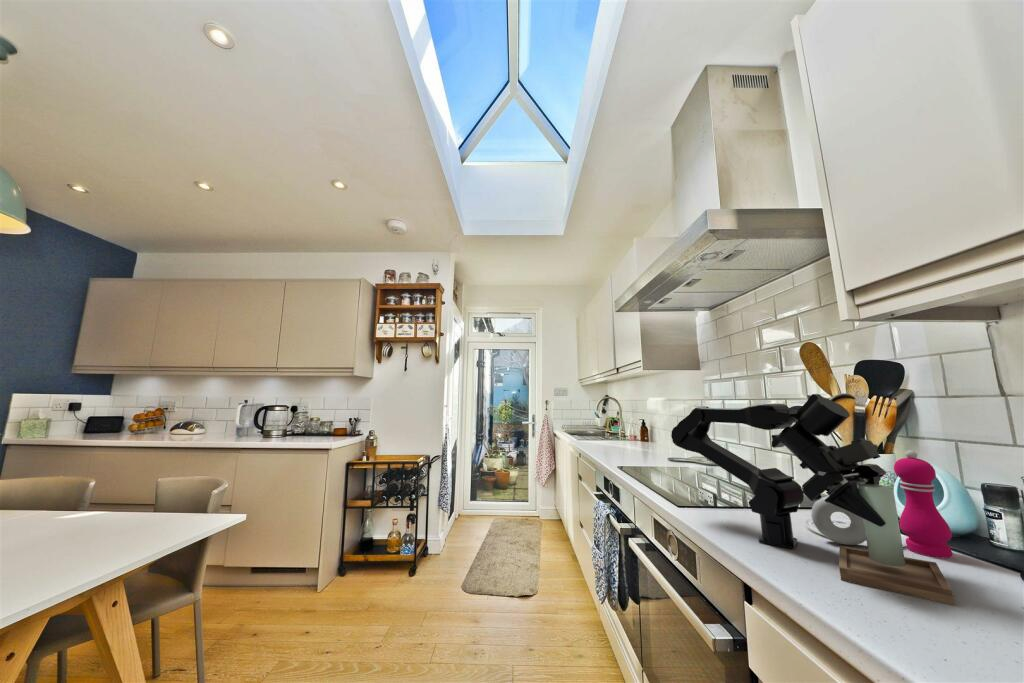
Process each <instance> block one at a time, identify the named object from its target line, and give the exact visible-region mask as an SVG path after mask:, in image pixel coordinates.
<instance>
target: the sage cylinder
mask: <svg viewBox="0 0 1024 683" xmlns="http://www.w3.org/2000/svg"><path fill="white" fill-rule="evenodd" d="M858 487H859V494H860V495H861V496H862V497H863V498H864V499H865V500H866V501H867V502H868V503H869V505H870V506H871V507H872V508H873V509H874V510H875V511H876V512H877V513H878V514H879V515H880V517H881V518H882V519H883V520H884V521H885V523H886V524H885V525H884V526H882V527H880V526H878V525H876V524H874V523H871V522H869V521H867V520H865V519H863V520H864V527H865V534H866V546H867V550H868V554H869V558H870V559H871V560H873V561H875V562H878V563H881V564H885V565H890V566H898V567H901V566H905V565H906V564H905V558H904V557H905V553H904V548H903V540H902V536H901V535H902V534H901V528H900V520H899V521H898V517H899V516H898V510H897V503H896V498H895V497H896V496H895V493H894V491H895V490H894V488H893V487H891V486H888V485H880V484H879V485H875V484H859V485H858Z"/></svg>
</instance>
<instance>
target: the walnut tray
mask: <svg viewBox="0 0 1024 683" xmlns="http://www.w3.org/2000/svg"><path fill="white" fill-rule="evenodd" d="M838 547H839V551H838V552H839V556H838V558H839V562H838V563H839V566H838V567H839V568H838V569H839V574H840V581H844V582H849V583H853V584H859V585H863V586H867V587H872V588H875V589H880V590H885V591H890V592H895V593H899V594H903V595H908V596H910V597H917V598H921V599H926V600H929V601H936V602H939V603H944V604H949V605H953V606H955V599H954V595H953V590H952V588H951V586H950V584H949V583H948V581H947V579H946V577H945V576H944V574H943V573H942V571H941V569H940V567H939V565H938V564H937V562H934V561H930V560H923V559H917V558H912V557H907V556H904V558H905V564H906V565H905V566H901V567H898V566H890V565H885V564H881V563H878V562H875V561H873V560H871V559H870V558H869V554H868V549H861V548H857V547H856V548H855V547H849V546H846V545H839V546H838Z"/></svg>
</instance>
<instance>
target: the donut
mask: <svg viewBox="0 0 1024 683" xmlns="http://www.w3.org/2000/svg"><path fill="white" fill-rule="evenodd" d="M827 497H829V495H826V496H823V497H822V498H821V499H820V500H815V501H814V504H813V506H812V507H811V512H810V513H811V515H810V516H811V518H812V522H813V525H814V527H815V528H816V529H817V530H818V532H819V533H821V534H822V535H823V536H824V537H825V538H826V539H828V540H830V541H831V542H833V543H837V544H841V545H842V546H856V545H860V544H863V543H864V542H865V541H866V534H865V527H864V520H863V518H861V517H859V516H857V515H855V514H853V513H851V512H849V511H847V510H845V509H842V508H840V507H838V506H836V505H833V504H831V503H827V502H825V501H824V500H825V499H826V498H827ZM834 513H843V514H844V515H846V516H847V517H848V519H849V520H850V524H849V525H848V526H847V527H840V526H837V525H835V524H834V523H833V521H832V518H831V516H832V514H834ZM866 542H867V541H866Z"/></svg>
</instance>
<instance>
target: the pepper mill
mask: <svg viewBox="0 0 1024 683" xmlns="http://www.w3.org/2000/svg"><path fill="white" fill-rule="evenodd" d="M904 455H905V457H902V458H900V459H898V460H896V461H895V462H894V465H893V470H894V473H895V474H896V476H897V477H899V479H900V480H899V484H900V485H899V486H900V488H901V489H903V493H904V495H905V503H904V504H905V505H904V508H903V510H902V512H901V514H900V517H899V518H900V520H899V527H900V531H902V533H903V534H905V535H906V536H907V538H905V545H906V544H907V546H906V548H907V550H908V551H910V552H913V553H914V554H915V553H916V554H918V555H923V556H926V557H932V558H937V559H950V558H952V557H953V553H952V547H951V546H950V545H948V544H947V542H949V541H950V540H951V539H952V537H953V534H952V531H951V528H950V526H949V524H948V522H947V521H946V519H945V518H944V517H943V516H942V514H941V513H940V511H939V510H938V509H937V506H936V504H935V500H934V494H933V492H936V489H935V484H934V483H932V482H933V481H934V480H935V479H936V476H937V474H936V470H935V468H934V467H933V465H932V464H931V463H929V462H928V461H926V460H923V459H920V458H918V453H917V452H916V451H914V450H912V449H909V450H906V451H905V453H904Z"/></svg>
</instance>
